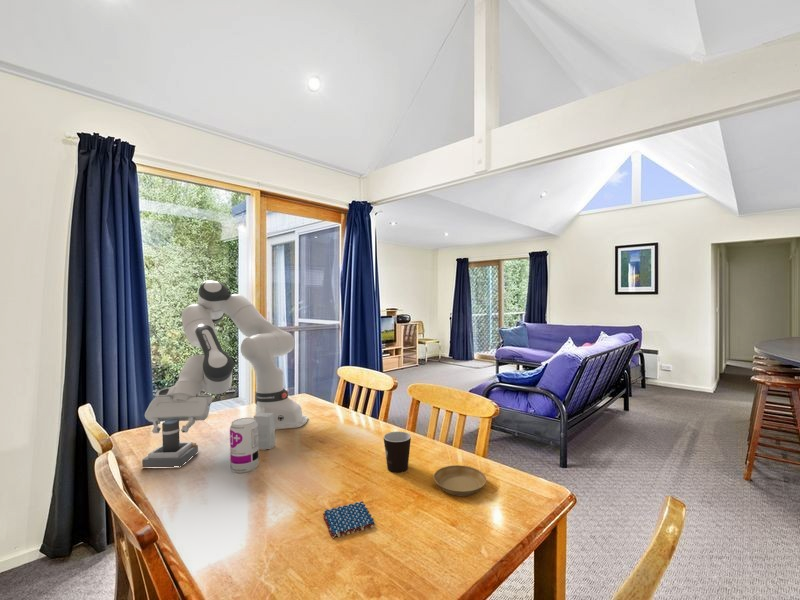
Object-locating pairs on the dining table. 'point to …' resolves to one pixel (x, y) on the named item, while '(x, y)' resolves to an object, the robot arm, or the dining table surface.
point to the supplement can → (244, 445)
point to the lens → (171, 436)
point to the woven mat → (348, 519)
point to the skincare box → (265, 430)
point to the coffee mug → (397, 451)
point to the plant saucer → (460, 480)
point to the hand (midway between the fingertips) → (169, 432)
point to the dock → (170, 456)
